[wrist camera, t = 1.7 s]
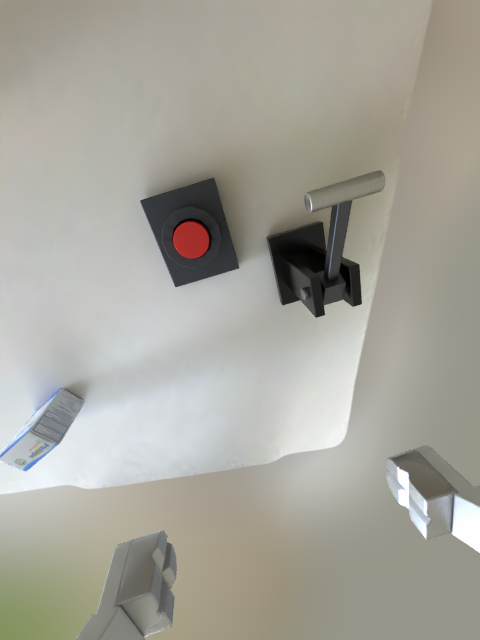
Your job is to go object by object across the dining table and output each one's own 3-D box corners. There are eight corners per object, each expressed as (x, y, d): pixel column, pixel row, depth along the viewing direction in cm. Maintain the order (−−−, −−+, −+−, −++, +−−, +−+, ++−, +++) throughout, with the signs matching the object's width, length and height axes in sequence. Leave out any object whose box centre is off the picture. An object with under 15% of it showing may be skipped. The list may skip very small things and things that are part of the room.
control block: (143, 200, 31) (135, 200, 28) (213, 179, 31) (214, 176, 27) (177, 283, 36) (173, 292, 32) (237, 264, 36) (241, 272, 32)
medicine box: (62, 386, 41) (27, 429, 33) (86, 401, 43) (59, 445, 35) (34, 412, 43) (-6, 460, 35) (58, 426, 45) (26, 473, 37)
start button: (169, 226, 29) (167, 227, 28) (202, 216, 29) (202, 217, 28) (182, 259, 31) (180, 262, 30) (213, 250, 31) (213, 252, 30)
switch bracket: (266, 237, 35) (292, 254, 24) (319, 221, 34) (370, 231, 23) (280, 302, 39) (308, 343, 28) (327, 288, 39) (374, 323, 28)
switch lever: (301, 185, 19) (314, 202, 18) (373, 163, 19) (391, 178, 17) (300, 294, 29) (308, 310, 28) (346, 280, 29) (357, 295, 28)
